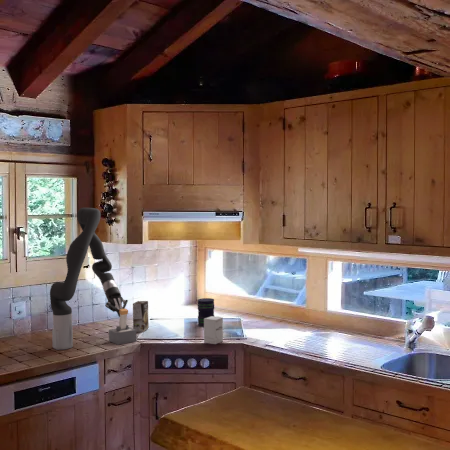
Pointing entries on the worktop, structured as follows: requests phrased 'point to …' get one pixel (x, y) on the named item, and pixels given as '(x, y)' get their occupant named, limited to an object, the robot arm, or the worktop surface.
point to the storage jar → (205, 310)
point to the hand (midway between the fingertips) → (122, 316)
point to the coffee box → (140, 316)
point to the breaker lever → (123, 318)
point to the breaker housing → (122, 335)
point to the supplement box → (213, 330)
